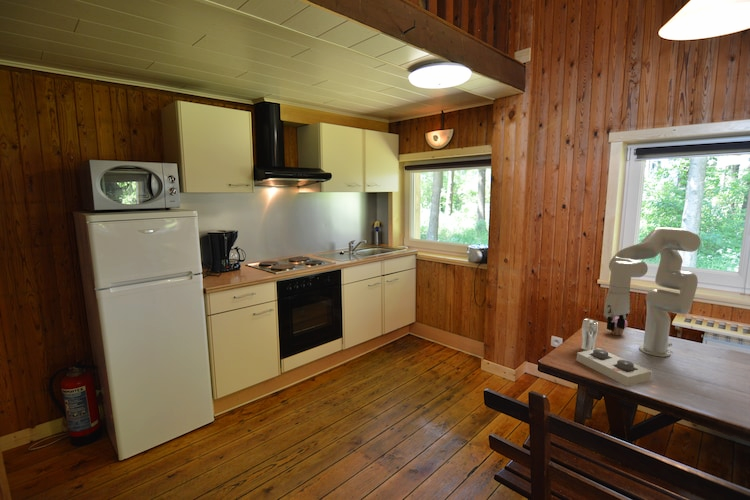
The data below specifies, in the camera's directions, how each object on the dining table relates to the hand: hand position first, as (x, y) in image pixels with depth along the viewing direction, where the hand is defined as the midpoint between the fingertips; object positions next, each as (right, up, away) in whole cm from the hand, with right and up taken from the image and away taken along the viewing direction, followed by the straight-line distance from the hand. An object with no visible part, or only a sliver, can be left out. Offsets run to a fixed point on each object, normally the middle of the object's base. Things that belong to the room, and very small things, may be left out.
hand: (615, 328), depth 166 cm
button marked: (+2, -17, -3) cm, 18 cm away
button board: (0, -19, +3) cm, 19 cm away
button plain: (-2, -15, +8) cm, 18 cm away
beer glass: (+2, -16, +25) cm, 29 cm away
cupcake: (+29, -12, +44) cm, 54 cm away
